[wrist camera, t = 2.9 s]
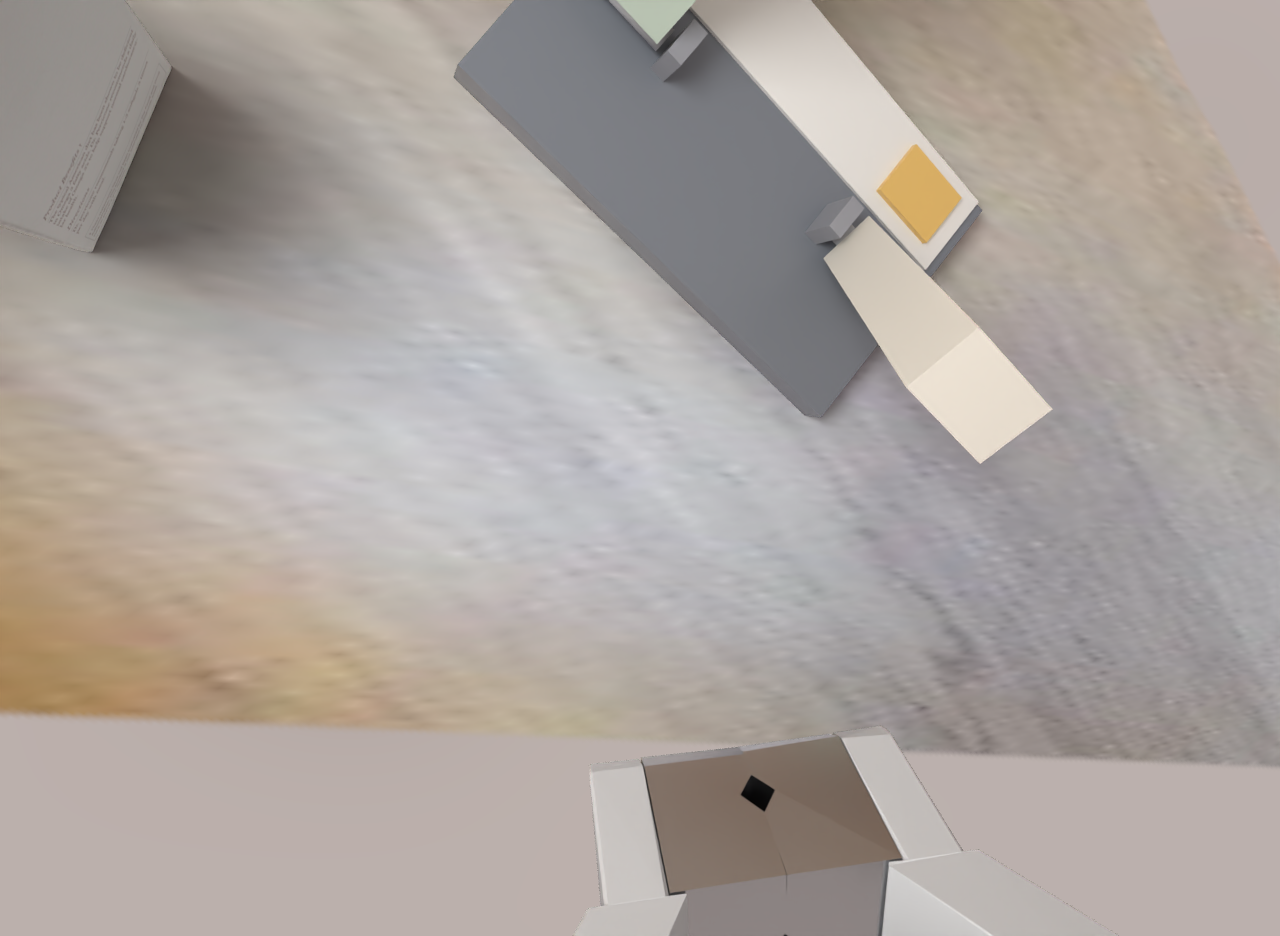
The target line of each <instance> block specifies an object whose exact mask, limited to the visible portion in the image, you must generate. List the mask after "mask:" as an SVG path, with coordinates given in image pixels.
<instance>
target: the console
mask: <svg viewBox="0 0 1280 936" xmlns="http://www.w3.org/2000/svg"><path fill="white" fill-rule="evenodd" d="M672 28H673V29H674V31H673V32H672V33H671V35H670V36H669V37H668V38H667V39H666V40H665V42H664V43H663V44H662V45H661V46H660V47H659V48H658V49H657V50H656V51H655V50H654V49H653V48H652V47H651V46H650V45H649V44H648V42H647V41H646V40H645V39H644V38H643V37H642V36H641V35H640V34H639V33H638V32H637V31H636V30H635V28H634V27H633V26H632V25H631V24H630V23H629V22H628V21H627V20H626V19H625V18H624V17H623V16H622V14H621V13H620V12H619V11H618V10H617V9H616V8H615V7H614V6H613V5H612V4H611V3H610V2H609V0H514V1H513V2H512V3H511V4H510V6H509V7H508V8H507V9H506V10H505V11H504V12H503V14H502V15H501V16H500V17H499V18H498V19H497V20H496V21H495V23H494V24H493V25H492V26H491V27H490V28H489V29H488V31H487V32H486V33H485V34H484V35H483V36H482V37H481V39H480V40H479V41H478V42H477V43H476V44H475V45H474V47H473V48H472V49H471V50H470V51H469V52H468V53H467V55H466V56H465V57H464V58H463V59H462V60H461V61H460V62H459V64H458V65H457V69H456V72H455V75H454V78H455V79H456V80H457V81H458V82H459V83H460V84H461V85H462V86H463V87H464V88H465V89H466V90H467V91H468V92H470V93H471V94H472V95H473V96H474V97H475V98H476V99H477V100H478V101H479V102H480V103H481V104H482V105H483V106H484V107H485V108H486V109H487V110H488V111H489V112H490V113H491V114H492V115H493V116H494V117H496V118H497V119H498V120H499V121H500V122H501V123H502V124H503V125H504V126H505V127H506V128H507V129H508V130H509V131H510V132H511V133H512V134H513V135H514V136H515V137H516V138H517V139H518V140H519V141H520V142H521V143H523V144H524V145H525V146H526V147H527V148H528V149H529V150H530V151H531V152H532V153H533V154H534V155H535V156H536V157H537V158H538V159H539V160H540V161H541V162H542V163H543V164H544V165H545V166H546V167H547V168H548V169H550V170H551V171H552V172H553V173H554V174H555V175H556V176H557V177H558V178H559V179H560V180H561V181H562V182H563V183H564V184H565V185H566V186H567V187H568V188H569V189H570V190H571V191H572V192H573V193H574V194H575V195H577V196H578V197H579V198H580V199H581V200H582V201H583V202H584V203H585V204H586V205H587V206H588V207H589V208H590V209H591V210H592V211H593V212H594V213H595V214H596V215H597V216H598V217H599V218H600V219H601V220H602V221H604V222H605V223H606V224H607V225H608V226H609V227H610V228H611V229H612V230H613V231H614V232H615V233H616V234H617V235H618V236H619V237H620V238H621V239H622V240H623V241H624V242H625V243H626V244H627V245H628V246H630V247H631V248H632V249H633V250H634V251H635V252H636V253H637V254H638V255H639V256H640V257H641V258H642V259H643V260H644V261H645V262H646V263H647V264H648V265H649V266H650V267H651V268H652V269H653V270H654V271H655V272H657V273H658V274H659V275H660V276H661V277H662V278H663V279H664V280H665V281H666V282H667V283H668V284H669V285H670V286H671V287H672V288H673V289H674V290H675V291H676V292H677V293H678V294H679V295H680V296H681V297H682V298H684V299H685V300H686V301H687V302H688V303H689V304H690V305H691V306H692V307H693V308H694V309H695V310H696V311H697V312H698V313H699V314H700V315H701V316H702V317H703V318H704V319H705V320H706V321H707V322H708V323H709V324H711V325H712V326H713V327H714V328H715V329H716V330H717V331H718V332H719V333H720V334H721V335H722V336H723V337H724V338H725V339H726V340H727V341H728V342H729V343H730V344H731V345H732V346H733V347H734V348H735V349H736V350H738V351H739V352H740V353H741V354H742V355H743V356H744V357H745V358H746V359H747V360H748V361H749V362H750V363H751V364H752V365H753V366H754V367H755V368H756V369H757V370H758V371H759V372H760V373H761V374H762V375H764V376H765V377H766V378H767V379H768V380H769V381H770V382H771V383H772V384H773V385H774V386H775V387H776V388H777V389H778V390H779V391H780V392H781V393H782V394H783V395H784V396H785V397H786V398H787V399H788V400H789V401H791V402H792V403H793V404H794V405H795V406H796V407H797V408H798V409H799V410H800V411H801V412H802V413H803V414H804V415H808V416H816V417H822V416H823V415H824V413H825V412H826V411H827V409H828V408H829V407H830V406H831V404H832V403H833V402H834V400H835V399H836V398H837V397H838V395H839V394H840V393H841V391H842V390H843V389H844V388H845V386H846V385H847V384H848V382H849V381H850V380H851V379H852V377H853V376H854V375H855V373H856V372H857V371H858V370H859V368H860V367H861V366H862V364H863V363H864V362H865V361H866V359H867V358H868V357H869V356H870V354H871V353H872V352H873V350H874V349H875V348H876V347H877V345H878V343H877V341H876V340H875V338H874V337H873V335H872V333H871V332H870V330H869V329H868V327H867V326H866V324H865V323H864V321H863V319H862V318H861V316H860V315H859V313H858V312H857V310H856V309H855V307H854V305H853V304H852V302H851V301H850V299H849V298H848V296H847V294H846V293H845V291H844V290H843V288H842V287H841V285H840V284H839V282H838V280H837V279H836V277H835V276H834V274H833V273H832V271H831V270H830V268H829V266H828V265H827V263H826V262H825V260H824V259H823V258H824V257H825V256H826V255H827V254H828V253H829V252H830V251H831V250H833V249H834V248H835V247H836V244H835V243H834V242H833V241H832V240H835V239H839V238H841V237H842V236H843V235H844V233H845V232H846V231H847V230H848V228H849V227H850V226H851V225H853V226H854V227H855V228H856V227H857V226H858V225H859V224H860V223H862V222H863V221H864V220H865V219H866V218H867V217H868V216H870V217H871V218H872V219H873V220H874V221H875V222H876V223H877V224H878V225H879V226H880V227H881V228H882V229H883V230H884V231H885V232H886V233H887V234H888V235H889V236H890V237H891V239H892V240H893V241H894V242H895V243H896V244H897V245H898V246H899V247H900V248H901V249H902V250H903V251H904V252H905V253H906V254H907V255H908V256H909V257H910V258H911V259H912V260H913V261H914V262H915V263H916V264H917V265H918V266H919V267H920V268H921V269H922V270H923V271H924V272H925V273H926V274H927V275H928V276H929V277H931V276H932V275H933V273H934V272H935V271H936V270H937V268H938V267H939V266H940V264H941V263H942V262H943V261H944V259H945V258H946V257H947V255H948V254H949V253H950V252H951V250H952V249H953V248H954V246H955V245H956V244H957V243H958V241H959V240H960V239H961V237H962V236H963V235H964V234H965V232H966V231H967V230H968V228H969V227H970V226H971V225H972V223H973V222H974V221H975V219H976V218H977V217H978V216H979V214H980V213H981V212H982V209H981V208H980V207H979V206H978V205H977V204H978V202H979V201H978V200H977V199H976V198H975V197H974V195H973V194H972V193H971V192H970V191H969V189H968V188H967V187H966V186H965V185H964V183H963V182H962V181H961V180H960V179H959V177H958V176H957V175H956V174H955V173H954V171H953V170H952V169H951V168H950V167H949V165H948V164H947V163H946V162H945V161H944V159H943V158H942V157H941V156H940V155H939V153H938V152H937V151H936V150H935V149H934V147H933V146H932V145H931V144H930V143H929V141H928V140H927V139H926V138H925V137H924V135H923V134H922V133H921V132H920V131H919V129H918V128H917V127H916V126H915V125H914V123H913V122H912V121H911V120H910V119H909V117H908V116H907V115H906V114H905V113H904V111H903V110H902V109H901V108H900V107H899V105H898V104H897V103H896V102H895V101H894V99H893V98H892V97H891V96H890V95H889V93H888V92H887V91H886V90H885V89H884V87H883V86H882V85H881V84H880V83H879V81H878V80H877V79H876V78H875V77H874V75H873V74H872V73H871V72H870V71H869V69H868V68H867V67H866V66H865V65H864V63H863V62H862V61H861V60H860V59H859V57H858V56H857V55H856V54H855V53H854V51H853V50H852V49H851V48H850V47H849V45H848V44H847V43H846V42H845V41H844V39H843V38H842V37H841V36H840V35H839V33H838V32H837V31H836V30H835V29H834V27H833V26H832V25H831V24H830V23H829V21H828V20H827V19H826V18H825V17H824V15H823V14H822V13H821V12H820V11H819V9H818V8H817V7H816V6H815V5H814V3H813V2H812V1H811V0H696V1H695V2H694V3H693V5H692V6H691V7H690V8H689V9H688V10H687V11H686V12H685V14H684V15H683V16H682V17H681V18H680V19H679V20H678V21H677V22H676V24H675V25H674V26H673V27H672Z"/></svg>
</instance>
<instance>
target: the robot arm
mask: <svg viewBox="0 0 1280 936" xmlns="http://www.w3.org/2000/svg"><path fill="white" fill-rule="evenodd" d="M589 777H590V788H591V800H592V811H593V822H594V834H595V845H596V857H597V867H598V879H599V891H600V902H601V906H599V907H593V908H588V909H587V911H586V913H585V915H584V916H583V918H582V920H581V922H580V924H579V925H578V927H577V929H576V931H575V932H574V934H573V936H1119V935H1117V934H1116V933H1114V932H1112V931H1111V930H1109V929H1107V928H1106V927H1104V926H1103V925H1101V924H1099V923H1097V922H1096V921H1094V920H1093V919H1091V918H1090V917H1088V916H1086V915H1085V914H1083V913H1081V912H1080V911H1078V910H1077V909H1075V908H1073V907H1072V906H1070V905H1068V904H1067V903H1065V902H1064V901H1062V900H1060V899H1059V898H1057V897H1055V896H1054V895H1052V894H1050V893H1049V892H1047V891H1046V890H1044V889H1042V888H1041V887H1039V886H1037V885H1036V884H1034V883H1033V882H1031V881H1029V880H1028V879H1026V878H1024V877H1023V876H1021V875H1020V874H1018V873H1016V872H1015V871H1013V870H1012V869H1010V868H1008V867H1007V866H1005V865H1003V864H1002V863H1000V862H998V861H997V860H995V859H994V858H992V857H990V856H989V855H987V854H985V853H984V852H982V851H981V850H970V851H963V850H962V848H961V847H960V845H959V843H958V842H957V840H956V839H955V837H954V835H953V834H952V832H951V830H950V829H949V827H948V826H947V824H946V822H945V821H944V819H943V817H942V816H941V814H940V813H939V811H938V809H937V808H936V806H935V804H934V803H933V801H932V799H931V798H930V796H929V795H928V793H927V791H926V790H925V788H924V787H923V785H922V784H921V782H920V780H919V778H918V777H917V775H916V774H915V772H914V770H913V769H912V767H911V766H910V764H909V762H908V761H907V759H906V757H905V756H904V754H903V752H902V751H901V749H900V748H899V746H898V744H897V743H896V741H895V739H894V738H893V736H892V735H891V733H890V731H888V730H887V729H885V728H884V727H882V726H874V727H868V728H861V729H855V730H848V731H841V732H835V733H833V734H832V735H831V734H825V735H818V736H811V737H804V738H797V739H790V740H783V741H776V742H769V743H762V744H755V745H748V746H740V747H735V748H725V749H716V750H707V751H698V752H689V753H679V754H670V755H661V756H652V757H643V758H641V762H640V760H639V759H634V760H626V761H615V762H606V763H597V764H590V775H589Z"/></svg>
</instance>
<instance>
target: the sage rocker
mask: <svg viewBox="0 0 1280 936" xmlns="http://www.w3.org/2000/svg"><path fill="white" fill-rule="evenodd" d="M695 1H696V0H609V2H610V3H611V4H612V5H613V6H614V7H615V8H616V9H617V10H618V11H619V12H620V13H621V14H622V16H623V17H624V18H625V19H626V20H627V21H628V22H629V23H630V24H631V25H632V26H633V27H634V28H635V30H636V31H637V32H638V33H639V34H640V35H641V36H642V37H643V38H644V39H645V40H646V41H647V42H648V44H649V45H650V46H651V47H652V48H653V49H654V50H655V51H656V50H657V49H658V48H659V47H660V46H661V45H662V44H663V43H664V42H665V40H666V39H667V38H668V37H669V36H670V35H671V33H672V32H673V31H674V29H673V28H672V27H673V26H674V25H675V24H676V22H677V21H678V20H679V19H680V18H681V17H682V16H683V15H684V14H685V12H686V11H687V10H688V9H689V8H690V7H691V6H692V5H693V3H694V2H695Z"/></svg>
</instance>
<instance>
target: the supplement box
mask: <svg viewBox="0 0 1280 936" xmlns="http://www.w3.org/2000/svg"><path fill="white" fill-rule="evenodd" d="M171 68H172V66H171V65H170V63H169V62H168V60H167V59H166V58H165V56H164V55H163V53H162V52H161V50H160V49H159V48H158V46H157V45H156V43H155V42H154V41H153V39H152V38H151V36H150V35H149V34H148V32H147V31H146V29H145V28H144V26H143V25H142V24H141V22H140V21H139V19H138V18H137V16H136V15H135V14H134V12H133V11H132V9H131V8H130V6H129V5H128V4H127V2H126V1H125V0H0V226H1V227H4V228H6V229H10V230H13V231H16V232H19V233H22V234H25V235H29V236H32V237H35V238H38V239H41V240H44V241H47V242H51V243H55V244H59V245H62V246H66V247H69V248H72V249H76V250H80V251H85V252H92V251H93V249H94V247H95V245H96V242H97V240H98V238H99V236H100V234H101V231H102V229H103V227H104V225H105V223H106V221H107V218H108V216H109V214H110V212H111V209H112V207H113V205H114V202H115V200H116V198H117V195H118V193H119V191H120V188H121V186H122V184H123V181H124V179H125V176H126V174H127V172H128V169H129V167H130V165H131V162H132V160H133V158H134V155H135V153H136V151H137V148H138V146H139V143H140V141H141V139H142V136H143V134H144V132H145V129H146V127H147V125H148V122H149V120H150V118H151V115H152V113H153V110H154V108H155V106H156V103H157V101H158V99H159V96H160V94H161V92H162V89H163V87H164V84H165V82H166V80H167V77H168V75H169V73H170V71H171Z"/></svg>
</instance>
